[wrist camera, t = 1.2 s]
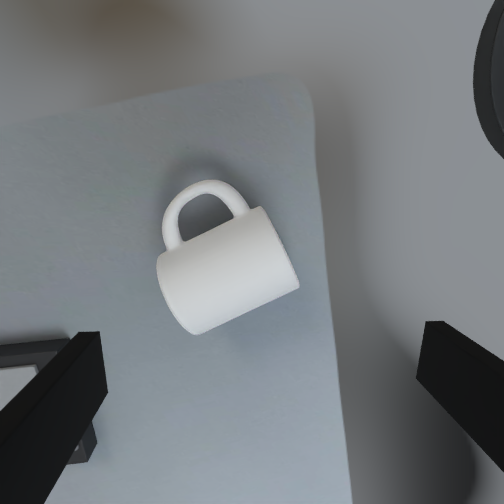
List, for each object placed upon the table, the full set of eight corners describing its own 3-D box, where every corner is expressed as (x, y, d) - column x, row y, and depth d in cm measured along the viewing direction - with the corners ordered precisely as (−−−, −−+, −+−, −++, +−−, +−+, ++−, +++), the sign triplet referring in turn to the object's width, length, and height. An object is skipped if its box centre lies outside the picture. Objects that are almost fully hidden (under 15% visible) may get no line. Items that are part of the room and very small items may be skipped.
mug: (289, 270, 30) (309, 301, 22) (205, 310, 31) (196, 354, 23) (239, 163, 27) (242, 156, 19) (146, 209, 28) (113, 220, 20)
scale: (69, 337, 30) (54, 353, 28) (97, 443, 34) (85, 466, 31) (-69, 351, 30) (-99, 369, 27) (-26, 457, 33) (-49, 482, 30)
